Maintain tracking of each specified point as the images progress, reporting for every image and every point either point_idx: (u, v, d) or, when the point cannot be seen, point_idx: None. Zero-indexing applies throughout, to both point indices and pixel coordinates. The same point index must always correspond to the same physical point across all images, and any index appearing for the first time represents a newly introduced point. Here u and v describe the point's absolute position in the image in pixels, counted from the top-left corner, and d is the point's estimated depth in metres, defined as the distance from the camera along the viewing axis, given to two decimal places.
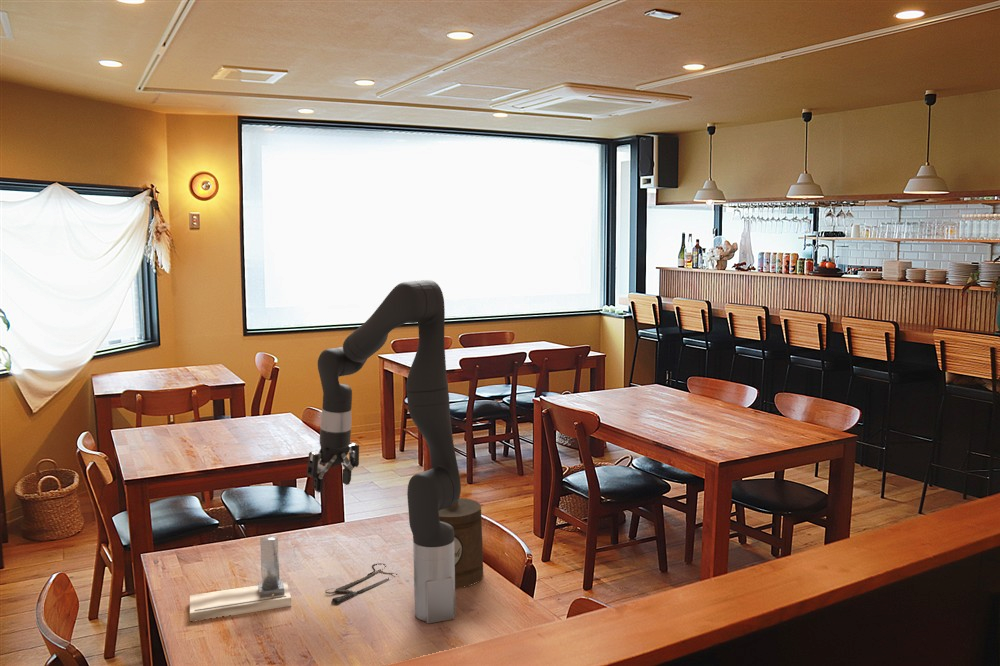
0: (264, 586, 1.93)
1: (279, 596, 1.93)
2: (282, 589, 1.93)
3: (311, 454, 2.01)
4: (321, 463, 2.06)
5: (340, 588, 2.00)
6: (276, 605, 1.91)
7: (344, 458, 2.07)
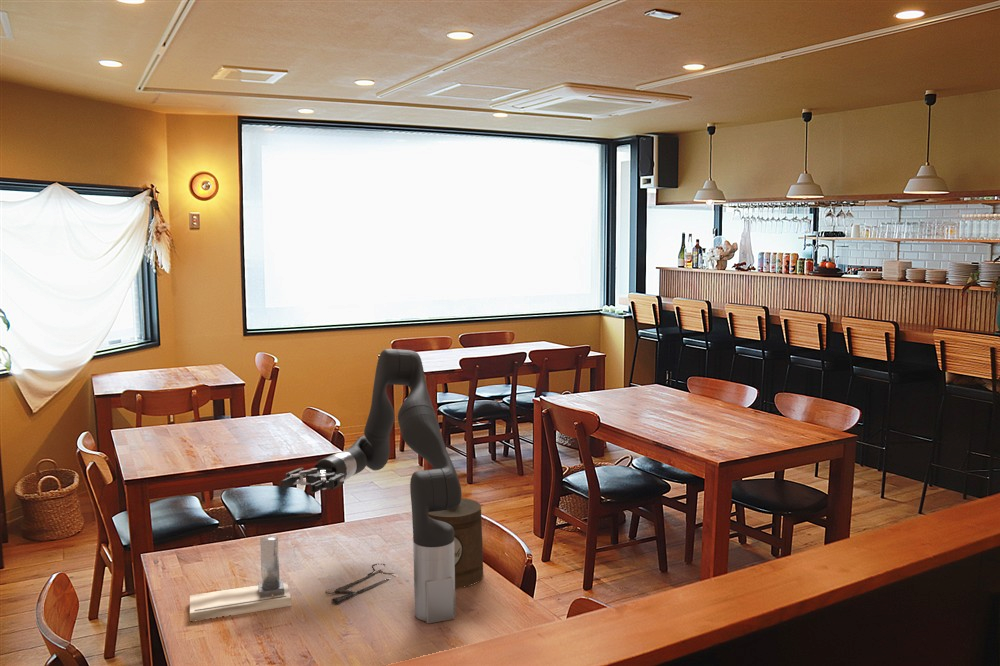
0: (264, 586, 1.93)
1: (279, 596, 1.93)
2: (282, 589, 1.93)
3: None
4: (304, 482, 2.10)
5: (340, 588, 2.00)
6: (276, 605, 1.91)
7: (322, 472, 2.09)
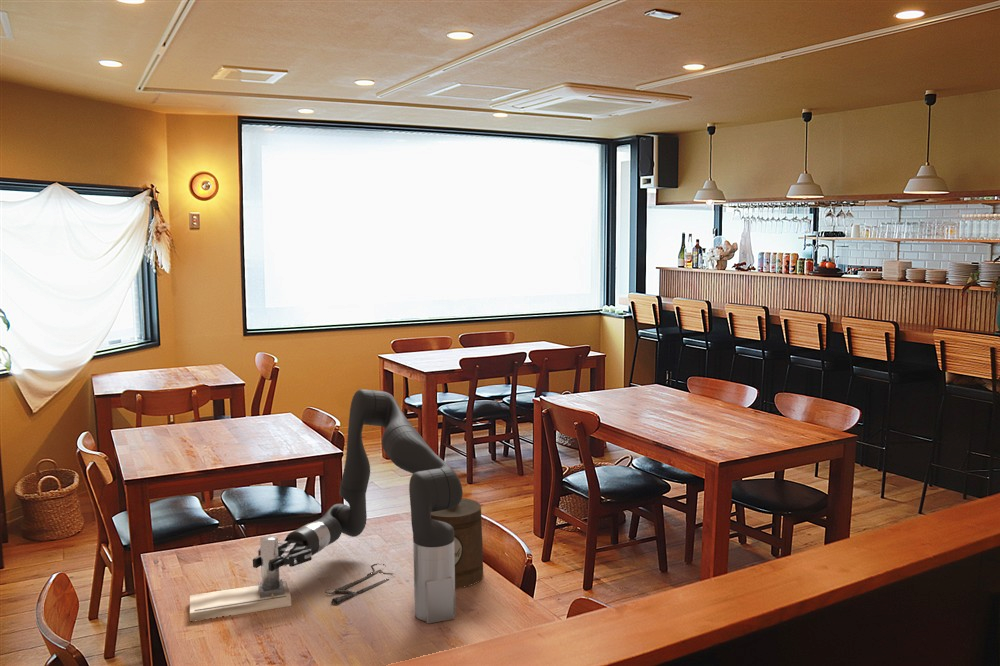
0: (264, 586, 1.93)
1: (279, 596, 1.93)
2: (282, 589, 1.93)
3: None
4: None
5: (340, 588, 2.00)
6: (276, 605, 1.91)
7: (290, 546, 1.99)
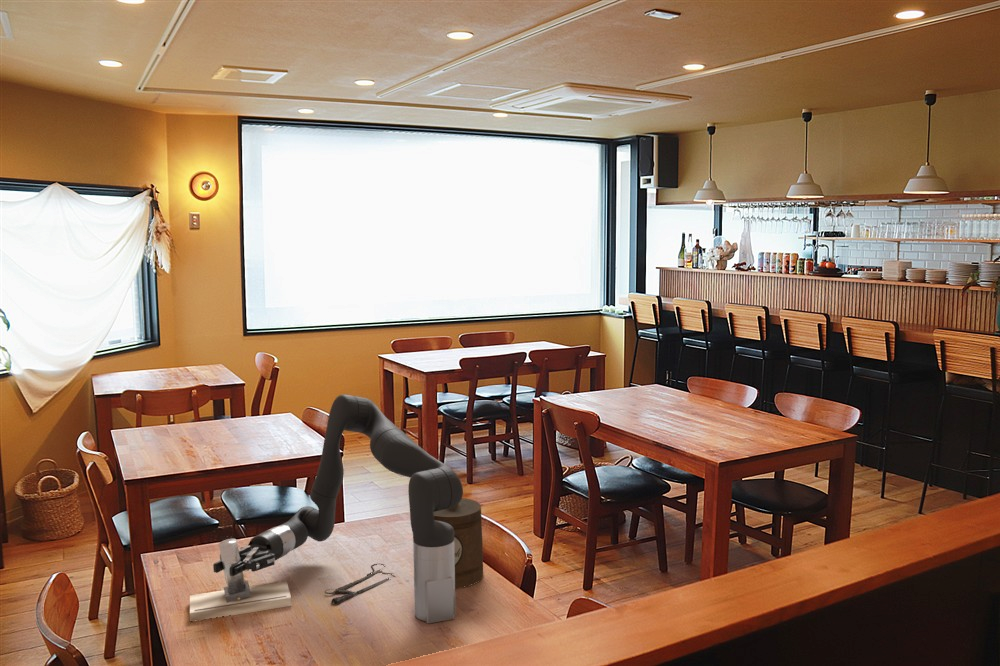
0: (229, 590, 1.91)
1: (279, 596, 1.93)
2: (248, 591, 1.91)
3: None
4: None
5: (340, 588, 2.00)
6: (276, 605, 1.91)
7: (253, 550, 1.96)
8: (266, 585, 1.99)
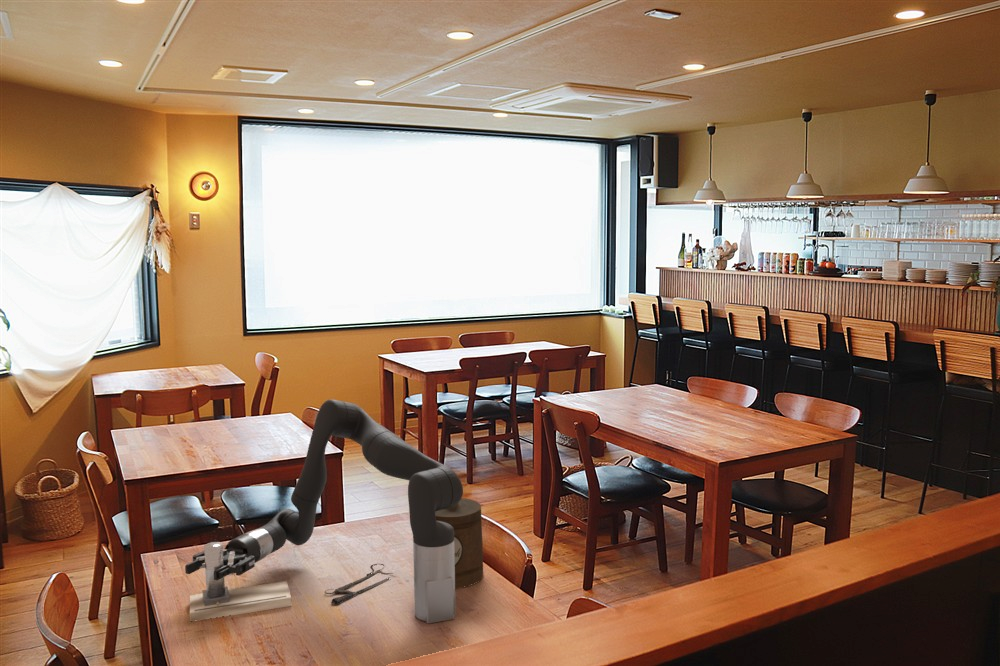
0: (209, 594, 1.90)
1: (279, 596, 1.93)
2: (227, 596, 1.90)
3: None
4: None
5: (339, 588, 2.00)
6: (276, 605, 1.91)
7: (231, 554, 1.94)
8: (266, 585, 1.99)
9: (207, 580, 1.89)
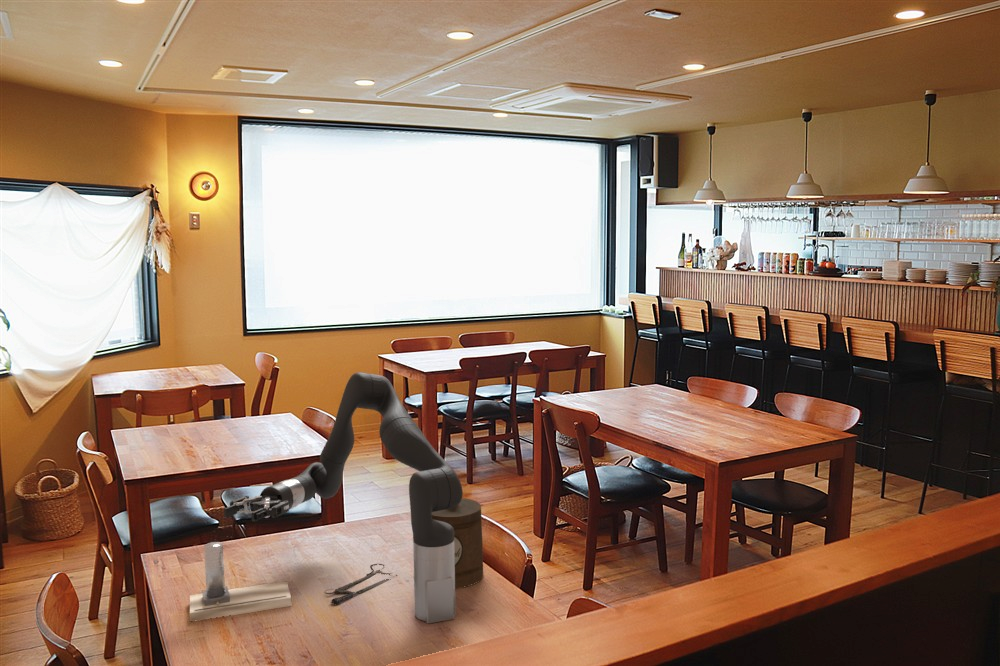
0: (209, 594, 1.90)
1: (279, 596, 1.93)
2: (227, 596, 1.90)
3: None
4: (248, 510, 2.06)
5: (339, 589, 2.00)
6: (276, 605, 1.91)
7: (266, 499, 2.04)
8: (266, 585, 1.99)
9: (207, 580, 1.89)
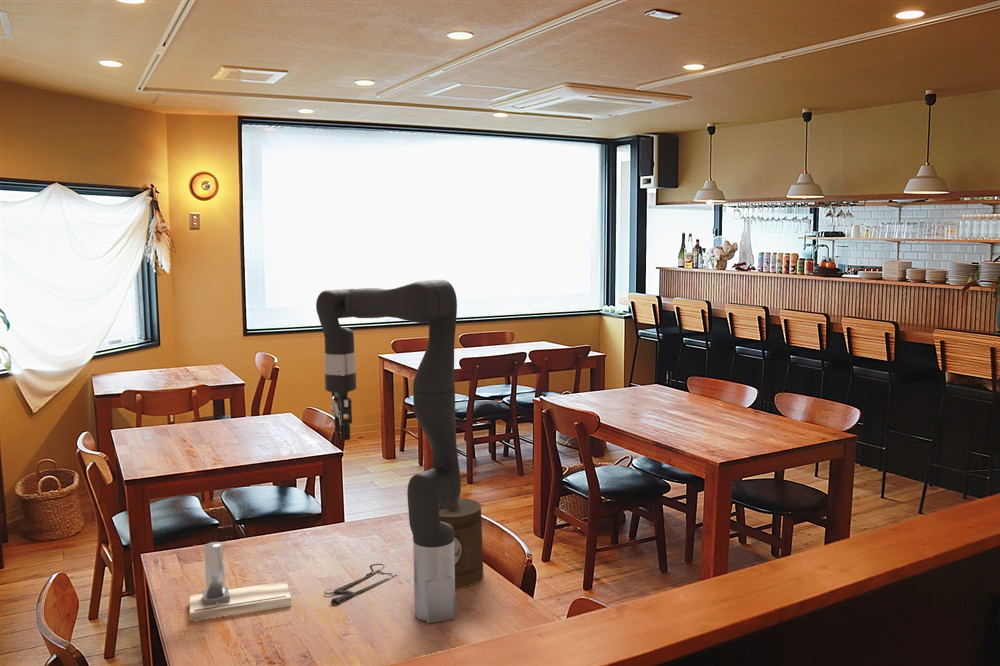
0: (209, 594, 1.90)
1: (279, 596, 1.93)
2: (227, 596, 1.90)
3: None
4: None
5: (339, 589, 2.00)
6: (276, 605, 1.91)
7: (335, 406, 2.01)
8: (266, 585, 1.99)
9: (207, 580, 1.89)
